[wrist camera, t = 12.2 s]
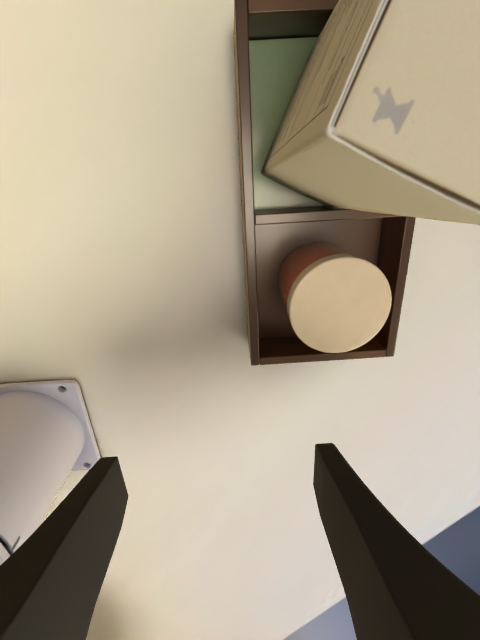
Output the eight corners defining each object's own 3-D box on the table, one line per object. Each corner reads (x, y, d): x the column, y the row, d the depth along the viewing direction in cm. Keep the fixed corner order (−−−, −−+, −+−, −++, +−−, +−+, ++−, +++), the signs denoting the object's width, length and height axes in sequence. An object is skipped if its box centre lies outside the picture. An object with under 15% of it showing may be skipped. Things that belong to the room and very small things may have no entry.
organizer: (248, 342, 21) (251, 365, 18) (233, 32, 15) (234, -3, 12) (372, 334, 21) (394, 356, 19) (411, 23, 15) (453, -14, 12)
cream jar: (275, 318, 20) (289, 356, 16) (274, 242, 18) (290, 260, 14) (350, 314, 20) (385, 350, 16) (357, 237, 18) (399, 254, 14)
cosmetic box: (329, 208, 17) (513, 249, 6) (255, 172, 17) (313, 145, 5) (394, 80, 15) (860, -213, 4) (313, 32, 14) (614, -509, 3)
